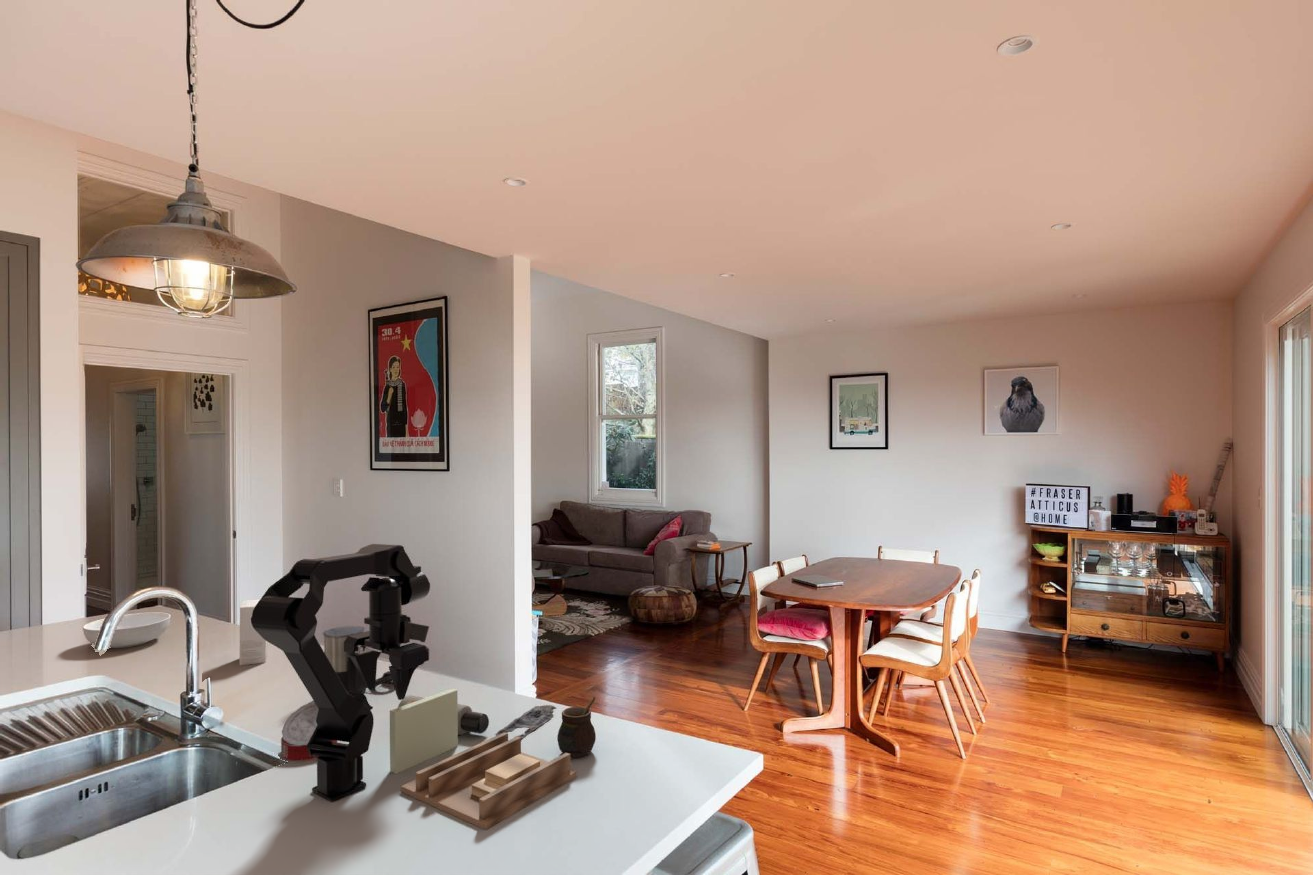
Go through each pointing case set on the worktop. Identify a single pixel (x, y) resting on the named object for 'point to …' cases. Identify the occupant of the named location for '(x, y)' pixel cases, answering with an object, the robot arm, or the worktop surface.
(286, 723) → the canned food
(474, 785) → the pine offcut
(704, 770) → the worktop surface
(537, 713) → the driftwood
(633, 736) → the worktop surface
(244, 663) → the skincare box
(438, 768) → the walnut rack
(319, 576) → the robot arm
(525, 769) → the oak offcut
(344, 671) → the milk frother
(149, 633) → the serving bowl
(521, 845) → the worktop surface
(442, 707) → the green sheet
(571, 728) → the mate gourd
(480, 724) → the lotion bottle
